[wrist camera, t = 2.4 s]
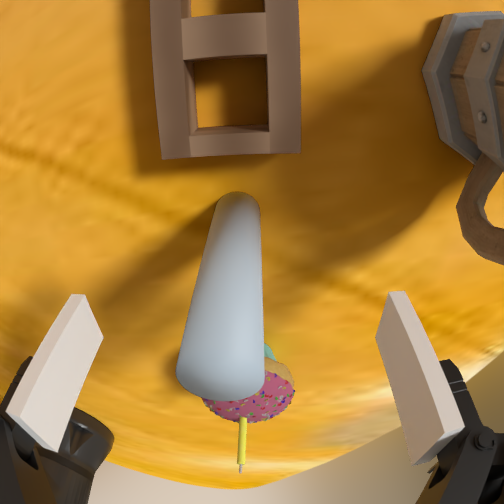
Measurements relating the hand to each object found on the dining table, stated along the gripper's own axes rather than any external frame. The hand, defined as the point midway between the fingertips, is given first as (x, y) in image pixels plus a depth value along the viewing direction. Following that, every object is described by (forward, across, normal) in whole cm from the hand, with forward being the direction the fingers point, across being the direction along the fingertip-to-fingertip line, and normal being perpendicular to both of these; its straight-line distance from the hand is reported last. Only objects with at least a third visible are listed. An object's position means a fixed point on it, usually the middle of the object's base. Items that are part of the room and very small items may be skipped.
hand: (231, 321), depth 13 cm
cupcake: (+11, 0, -15) cm, 19 cm away
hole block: (+11, 0, +12) cm, 16 cm away
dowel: (+11, 0, 0) cm, 11 cm away
